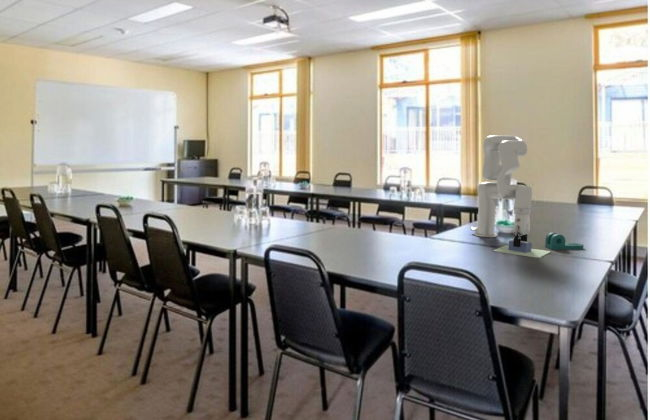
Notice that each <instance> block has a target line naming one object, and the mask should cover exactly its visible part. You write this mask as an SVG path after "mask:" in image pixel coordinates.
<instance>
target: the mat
mask: <svg viewBox="0 0 650 420" xmlns="http://www.w3.org/2000/svg"><path fill="white" fill-rule="evenodd" d="M508 248H509V244H505V245H504V246H501V247H500V246H499V247H498V248H496V249H493V251H492V252H495V253H501V254H502V253H503V254H509V255H517V256H524V257H529V258H536V259H541V258H542V257H544V256H546V255H548V254H549V253H551V251H550V250H544V249H535V248H531V252H527V253H524V252H518V251H513V250H508Z"/></svg>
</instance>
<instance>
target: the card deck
mask: <svg viewBox="0 0 650 420" xmlns="http://www.w3.org/2000/svg"><path fill="white" fill-rule="evenodd" d="M513 243H514V239H512V240H509V241H508V245H509V248H508V250H513V251H518V252H524V253H527V252H531V249H532V244H533V243H532V241H527V242H526V241H521V244H520V247H514V246H513Z"/></svg>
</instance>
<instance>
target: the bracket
mask: <svg viewBox="0 0 650 420" xmlns="http://www.w3.org/2000/svg"><path fill="white" fill-rule="evenodd" d="M544 244H545V245H544V247H545V248H547V249H549V250H557V251H558V250H560V251H561V250H562V249H573V250H584V244H582V243H578V242H566V238H565V236H564V235H562V234H560V233H556V232H553V231H551V232H549V233H548V234H546V236H545V243H544Z"/></svg>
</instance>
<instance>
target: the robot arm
mask: <svg viewBox="0 0 650 420" xmlns="http://www.w3.org/2000/svg"><path fill="white" fill-rule="evenodd" d="M482 147H483V151H484V152H483V154H484V159H483V167H482V177H483V179H484V180H487V181H484V182H480V183H479V184H478V186H477V197H478V211H477V226H476V227H473V226H471V228H470V231H473V232H474V231H475V232H474V234H473V235H474V236H475V237H481V238H496V237H497V236H498V234H497V233H496V232H495V226H496V225H495V223H496V210H497V209H496V207H497V206H496V204H495V202H494V201H493V199H501V200H514V204H513V205H514V211H513V214H514V215H515V216H514V223H513V240H514V243H513V246H514V247H520V244H521V241H526V242H528V235H529V233H530V229H531V227H530V226H531V225H530V223H531V217H530V215H531V212H532V199H533V197H532V196H533V192H532V191H533V188H532V187H531V186H527V185H525V184H511V181H512V177H513V175H512V174H513V173H514V172H517V171H518V170H519V168H520V166H521V165H520V161H519V157H525V156H526V155H527V154H528V145H527V143H526V142H525V141H524V140H523V139H522V138H520V137H518V136H517V135H501V134H498V135H496V134H495V135H494V134H493V135H488V136H486V137H485V138H484V141H483V146H482Z"/></svg>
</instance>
